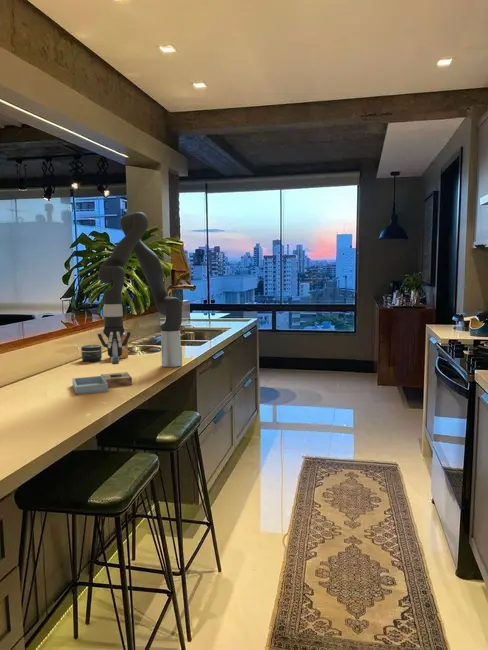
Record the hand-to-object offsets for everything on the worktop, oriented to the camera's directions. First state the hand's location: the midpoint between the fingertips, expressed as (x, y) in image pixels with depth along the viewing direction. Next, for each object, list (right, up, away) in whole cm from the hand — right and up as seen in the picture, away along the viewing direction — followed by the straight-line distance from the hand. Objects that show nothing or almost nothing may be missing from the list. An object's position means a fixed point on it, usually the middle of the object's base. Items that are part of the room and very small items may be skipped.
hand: (114, 356), depth 207 cm
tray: (-8, -12, -7) cm, 16 cm away
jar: (-25, -6, +50) cm, 56 cm away
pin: (0, -3, 0) cm, 3 cm away
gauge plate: (0, -11, +1) cm, 11 cm away
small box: (-13, -5, +57) cm, 59 cm away
